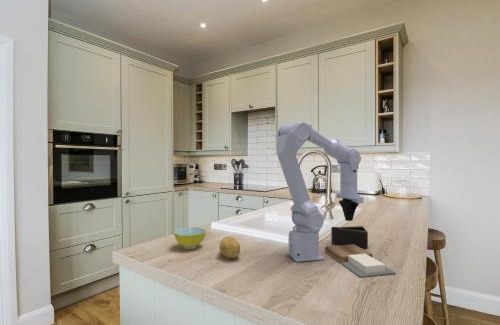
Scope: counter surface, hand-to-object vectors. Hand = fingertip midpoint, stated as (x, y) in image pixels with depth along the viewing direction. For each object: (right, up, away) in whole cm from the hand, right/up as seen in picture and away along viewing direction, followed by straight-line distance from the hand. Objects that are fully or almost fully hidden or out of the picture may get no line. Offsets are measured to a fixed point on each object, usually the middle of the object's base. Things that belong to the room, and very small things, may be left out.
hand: (348, 220), depth 97 cm
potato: (-42, -11, -7) cm, 44 cm away
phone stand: (+7, -7, +3) cm, 10 cm away
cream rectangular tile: (-2, -10, -18) cm, 20 cm away
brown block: (-3, -10, -8) cm, 13 cm away
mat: (-1, -10, -18) cm, 21 cm away
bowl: (-57, -11, +2) cm, 58 cm away
